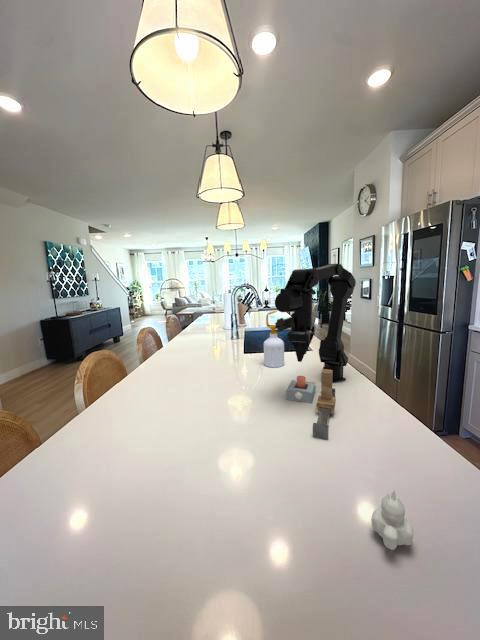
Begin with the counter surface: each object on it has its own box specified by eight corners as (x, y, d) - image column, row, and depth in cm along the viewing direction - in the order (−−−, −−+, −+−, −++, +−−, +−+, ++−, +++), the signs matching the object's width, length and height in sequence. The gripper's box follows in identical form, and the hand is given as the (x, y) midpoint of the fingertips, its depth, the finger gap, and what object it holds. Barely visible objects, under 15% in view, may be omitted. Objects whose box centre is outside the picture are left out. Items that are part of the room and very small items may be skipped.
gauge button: (297, 385, 90) (297, 375, 89) (306, 386, 89) (306, 376, 88) (296, 389, 87) (296, 378, 87) (304, 390, 86) (304, 379, 86)
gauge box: (292, 389, 94) (291, 380, 93) (315, 392, 90) (315, 382, 90) (286, 399, 86) (286, 389, 86) (311, 403, 83) (311, 392, 82)
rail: (323, 396, 87) (323, 387, 87) (335, 398, 86) (335, 388, 85) (312, 436, 66) (312, 425, 66) (327, 439, 65) (328, 427, 64)
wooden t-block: (318, 402, 81) (319, 368, 79) (335, 405, 79) (336, 370, 77) (316, 411, 76) (316, 375, 74) (334, 413, 74) (334, 377, 72)
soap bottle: (283, 368, 115) (283, 311, 111) (262, 367, 117) (261, 312, 113) (284, 361, 124) (283, 309, 120) (265, 361, 126) (263, 309, 122)
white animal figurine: (412, 531, 41) (416, 485, 40) (411, 570, 36) (415, 519, 35) (374, 515, 44) (376, 472, 43) (367, 549, 39) (369, 501, 38)
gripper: (283, 306, 95) (283, 348, 98) (270, 312, 78) (270, 363, 80) (316, 306, 91) (315, 351, 93) (308, 313, 74) (307, 367, 76)
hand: (302, 357), depth 86 cm, fingers open, 9 cm apart
